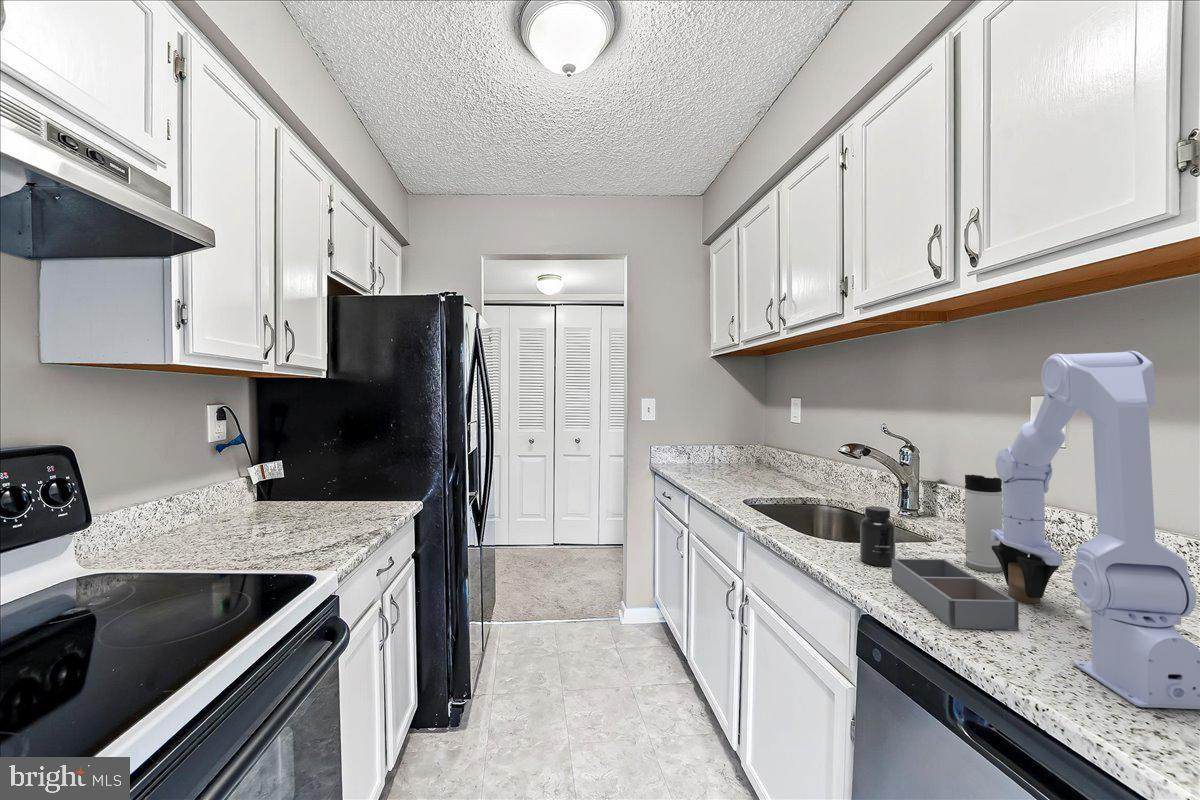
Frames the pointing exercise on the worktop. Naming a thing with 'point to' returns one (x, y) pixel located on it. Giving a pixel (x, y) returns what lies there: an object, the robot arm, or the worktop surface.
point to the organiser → (955, 594)
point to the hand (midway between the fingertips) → (1024, 591)
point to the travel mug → (982, 521)
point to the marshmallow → (1084, 615)
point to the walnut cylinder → (1018, 585)
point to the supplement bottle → (877, 537)
